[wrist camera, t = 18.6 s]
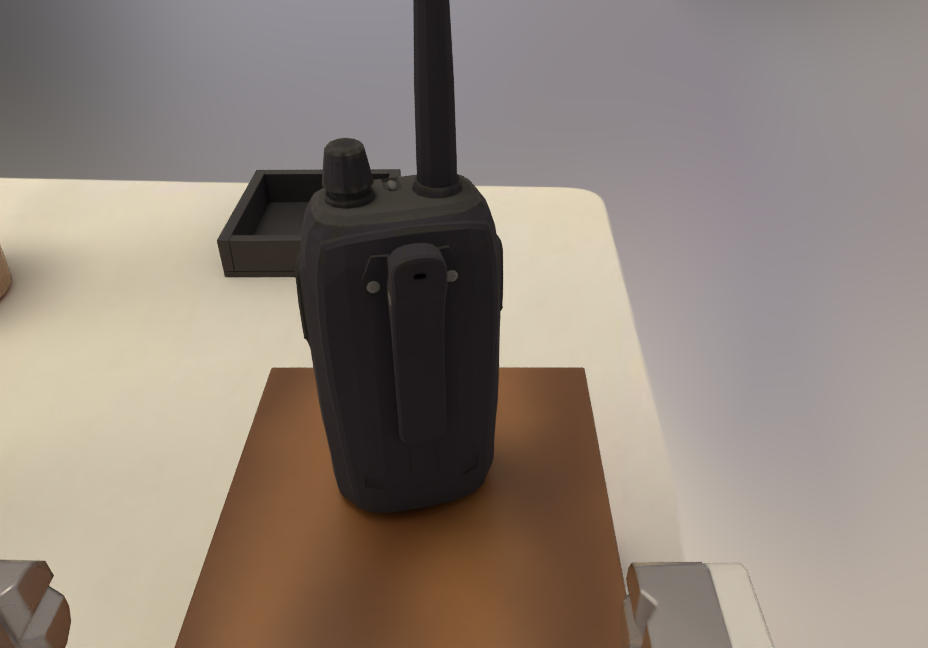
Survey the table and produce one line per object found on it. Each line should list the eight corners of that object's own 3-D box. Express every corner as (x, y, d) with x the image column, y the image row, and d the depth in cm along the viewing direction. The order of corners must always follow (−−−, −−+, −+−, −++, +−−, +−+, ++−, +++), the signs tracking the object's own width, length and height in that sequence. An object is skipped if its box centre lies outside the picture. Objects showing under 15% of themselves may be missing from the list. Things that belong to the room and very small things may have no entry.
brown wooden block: (566, 538, 35) (584, 366, 29) (602, 832, 25) (639, 661, 19) (305, 537, 35) (271, 367, 29) (239, 828, 25) (169, 658, 20)
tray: (402, 202, 63) (400, 169, 61) (389, 276, 54) (386, 239, 52) (262, 202, 63) (256, 169, 62) (224, 276, 54) (216, 240, 52)
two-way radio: (484, 427, 27) (488, -48, 18) (524, 525, 23) (552, -6, 14) (323, 456, 25) (244, -34, 17) (339, 564, 22) (249, 16, 13)
